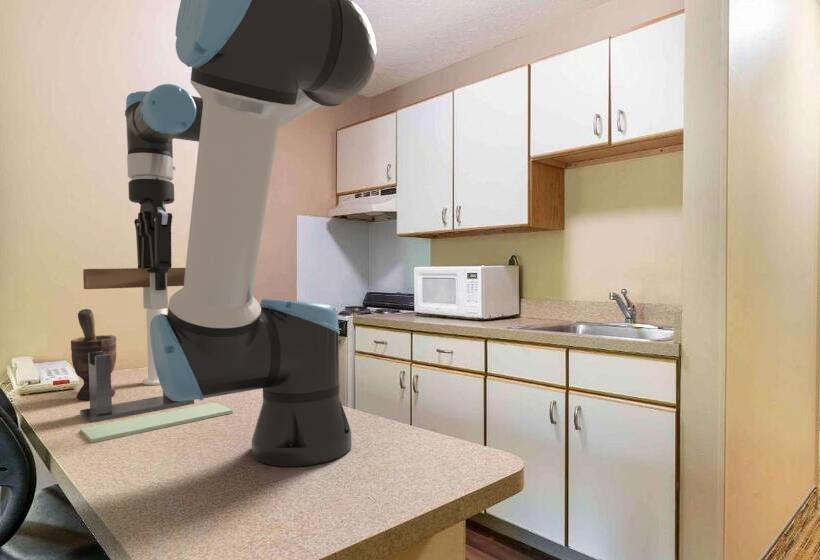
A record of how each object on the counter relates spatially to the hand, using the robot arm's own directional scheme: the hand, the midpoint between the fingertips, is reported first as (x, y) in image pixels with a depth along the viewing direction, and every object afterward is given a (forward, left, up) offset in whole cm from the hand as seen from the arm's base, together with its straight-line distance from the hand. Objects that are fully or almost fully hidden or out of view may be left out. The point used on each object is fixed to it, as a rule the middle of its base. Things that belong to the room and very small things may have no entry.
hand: (155, 308), depth 97 cm
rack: (+12, 0, -21) cm, 24 cm away
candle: (+35, -11, -21) cm, 42 cm away
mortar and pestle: (+28, +4, -21) cm, 35 cm away
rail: (0, 0, +4) cm, 4 cm away
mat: (-1, 0, -21) cm, 21 cm away
